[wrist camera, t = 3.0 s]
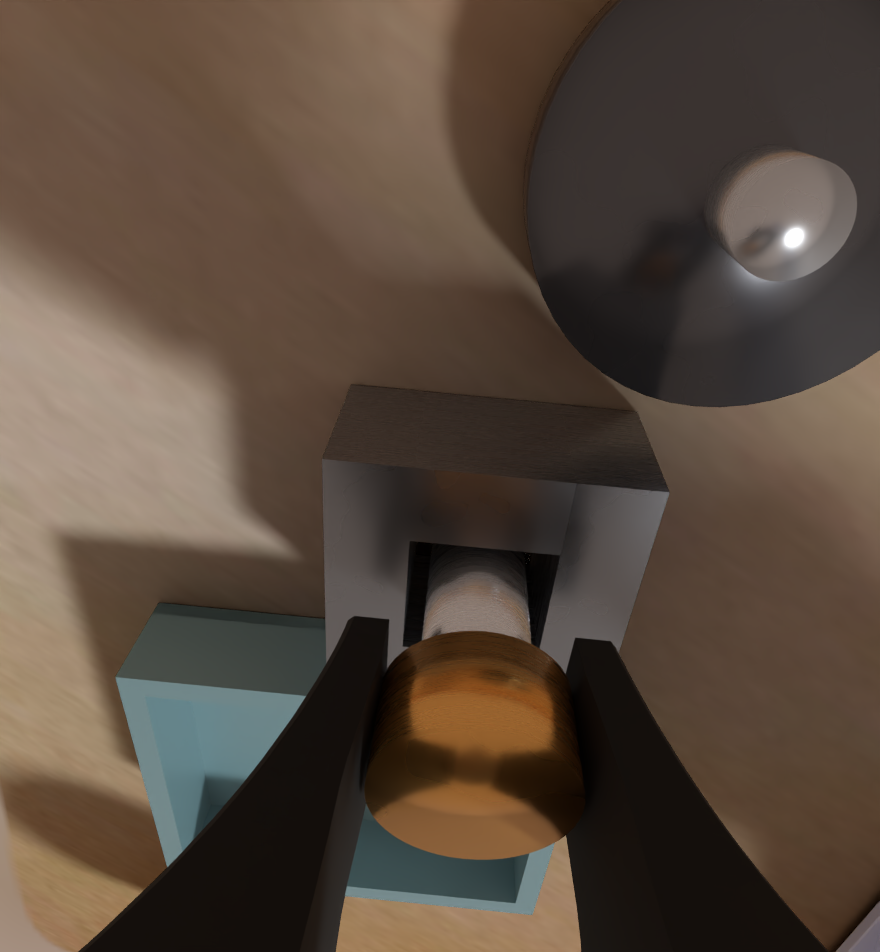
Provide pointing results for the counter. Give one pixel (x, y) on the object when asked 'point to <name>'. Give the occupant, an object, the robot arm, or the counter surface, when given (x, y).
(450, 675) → the lock pin
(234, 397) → the counter surface
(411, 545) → the dark disc and block
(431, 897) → the tray
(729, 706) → the counter surface
